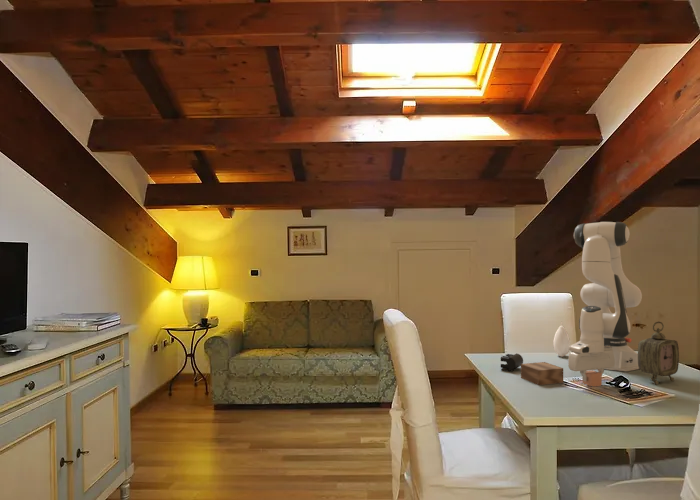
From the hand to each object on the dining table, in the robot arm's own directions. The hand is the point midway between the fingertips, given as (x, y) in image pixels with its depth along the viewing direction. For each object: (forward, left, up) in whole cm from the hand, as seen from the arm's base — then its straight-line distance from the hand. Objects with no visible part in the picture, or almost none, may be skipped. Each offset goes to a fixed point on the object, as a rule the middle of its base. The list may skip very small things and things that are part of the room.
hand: (592, 380), depth 209 cm
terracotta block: (0, 0, -2) cm, 2 cm away
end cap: (+16, -32, -2) cm, 36 cm away
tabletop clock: (-29, +5, -2) cm, 29 cm away
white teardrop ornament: (-24, -48, -2) cm, 54 cm away
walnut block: (+15, -12, -2) cm, 19 cm away
